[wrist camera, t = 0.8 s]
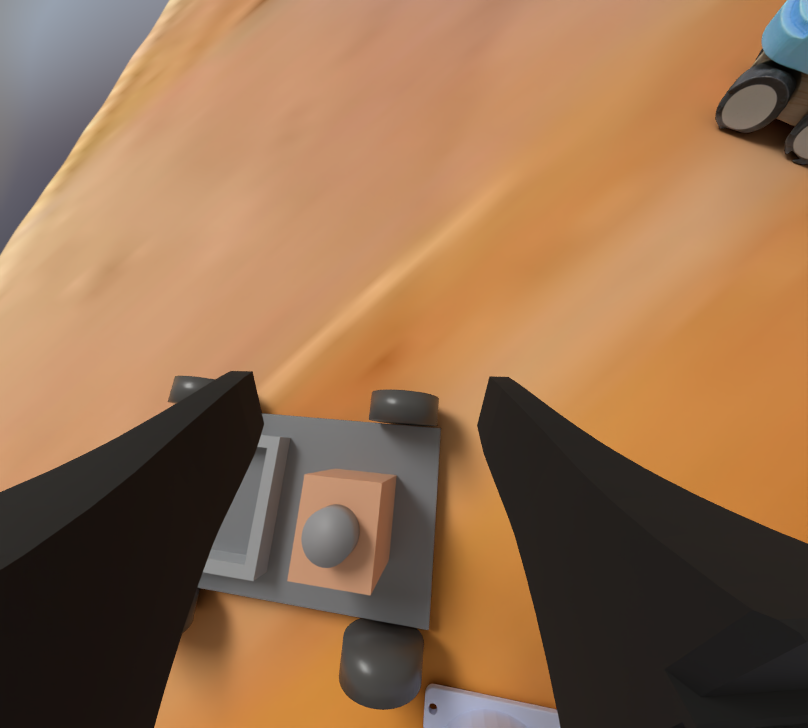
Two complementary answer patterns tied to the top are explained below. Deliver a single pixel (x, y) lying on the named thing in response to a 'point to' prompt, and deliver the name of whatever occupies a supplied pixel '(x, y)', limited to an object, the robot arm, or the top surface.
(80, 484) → the robot arm
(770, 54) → the toy excavator
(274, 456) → the chassis
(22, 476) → the top surface
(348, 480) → the block
